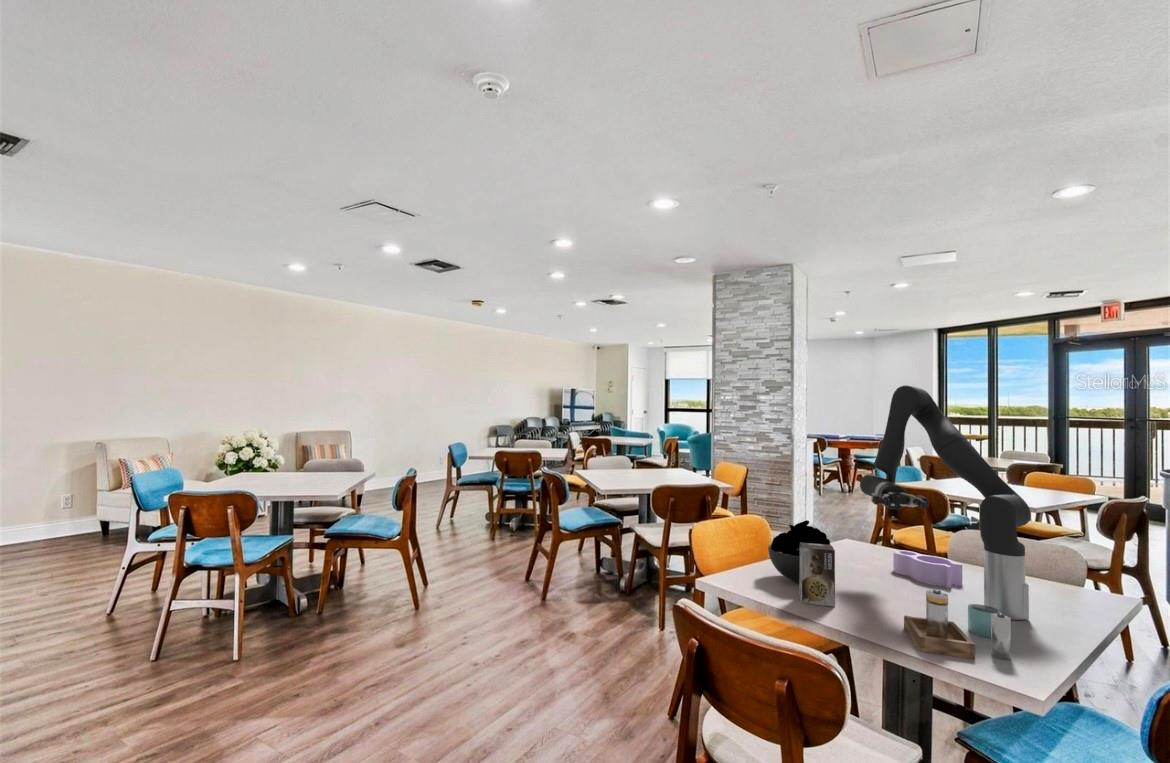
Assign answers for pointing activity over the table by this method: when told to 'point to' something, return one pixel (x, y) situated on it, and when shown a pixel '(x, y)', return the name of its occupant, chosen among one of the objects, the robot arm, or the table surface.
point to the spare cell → (1001, 636)
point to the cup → (980, 619)
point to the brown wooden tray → (939, 639)
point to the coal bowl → (793, 548)
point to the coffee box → (817, 574)
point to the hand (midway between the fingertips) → (906, 504)
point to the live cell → (936, 614)
